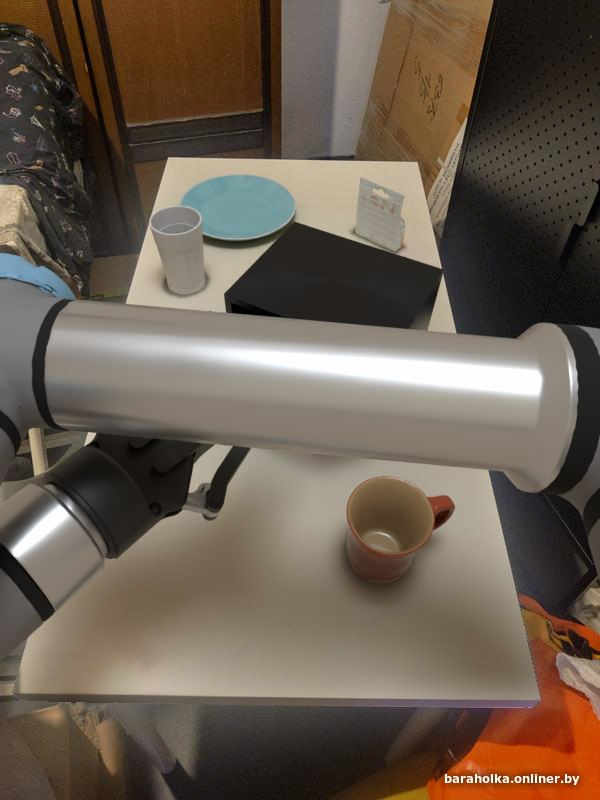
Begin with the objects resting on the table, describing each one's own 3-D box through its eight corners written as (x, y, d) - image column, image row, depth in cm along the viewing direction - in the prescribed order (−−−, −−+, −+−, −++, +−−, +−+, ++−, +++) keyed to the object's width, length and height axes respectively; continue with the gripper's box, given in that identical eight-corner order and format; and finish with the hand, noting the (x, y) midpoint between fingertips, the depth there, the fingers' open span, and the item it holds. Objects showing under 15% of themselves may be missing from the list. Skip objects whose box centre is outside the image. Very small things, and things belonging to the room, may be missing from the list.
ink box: (361, 227, 104) (368, 170, 95) (402, 247, 100) (413, 189, 91) (352, 234, 103) (358, 176, 94) (393, 254, 99) (404, 195, 90)
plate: (313, 236, 102) (314, 223, 100) (197, 261, 96) (195, 248, 94) (273, 178, 115) (272, 165, 113) (168, 198, 109) (166, 184, 107)
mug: (355, 604, 59) (366, 566, 51) (328, 532, 64) (334, 488, 56) (455, 572, 61) (480, 531, 53) (420, 505, 67) (439, 459, 59)
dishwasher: (373, 441, 72) (391, 357, 60) (233, 380, 79) (223, 293, 66) (420, 355, 83) (444, 269, 70) (293, 308, 89) (294, 221, 77)
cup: (160, 272, 94) (146, 209, 85) (206, 265, 96) (197, 202, 87) (165, 301, 89) (151, 238, 80) (213, 293, 91) (205, 230, 82)
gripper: (15, 478, 40) (231, 330, 54) (136, 604, 39) (328, 417, 52) (3, 430, 35) (249, 277, 48) (145, 576, 33) (359, 374, 46)
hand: (290, 350), depth 50 cm, fingers closed
